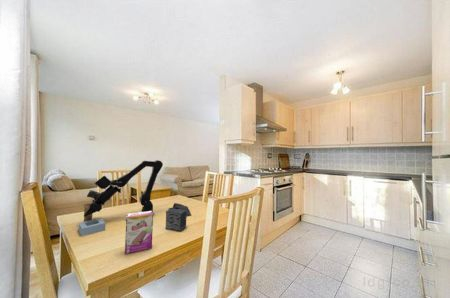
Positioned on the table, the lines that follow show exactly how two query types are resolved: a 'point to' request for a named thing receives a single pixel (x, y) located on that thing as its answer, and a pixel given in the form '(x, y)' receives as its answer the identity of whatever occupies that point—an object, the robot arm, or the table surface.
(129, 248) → the candy bar box
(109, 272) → the table surface
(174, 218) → the small box
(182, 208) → the dark slate chunk
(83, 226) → the socket block
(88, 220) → the walnut peg
